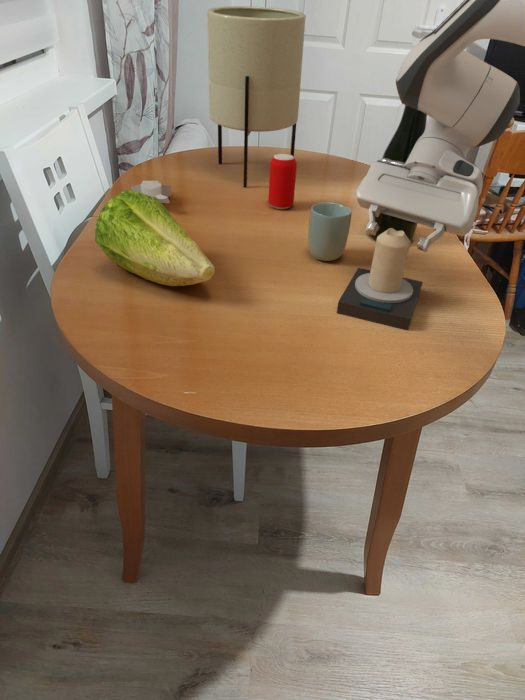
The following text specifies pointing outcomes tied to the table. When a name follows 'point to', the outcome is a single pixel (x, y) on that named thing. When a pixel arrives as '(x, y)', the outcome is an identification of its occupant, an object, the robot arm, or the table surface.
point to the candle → (389, 261)
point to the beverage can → (282, 181)
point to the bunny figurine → (154, 190)
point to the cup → (328, 230)
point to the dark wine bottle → (400, 151)
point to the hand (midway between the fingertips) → (394, 241)
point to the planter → (254, 70)
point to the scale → (379, 301)
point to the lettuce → (149, 241)
